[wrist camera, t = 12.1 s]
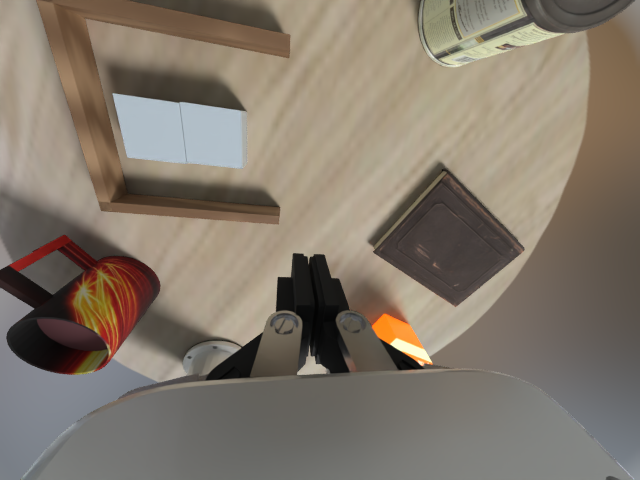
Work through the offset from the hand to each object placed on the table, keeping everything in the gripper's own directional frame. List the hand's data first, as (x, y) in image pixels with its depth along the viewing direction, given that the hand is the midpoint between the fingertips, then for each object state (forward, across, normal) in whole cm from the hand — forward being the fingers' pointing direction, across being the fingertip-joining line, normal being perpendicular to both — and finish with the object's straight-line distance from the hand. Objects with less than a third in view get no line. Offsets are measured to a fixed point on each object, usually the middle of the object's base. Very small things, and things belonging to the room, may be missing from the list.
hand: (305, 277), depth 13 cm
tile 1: (+23, +9, -5) cm, 25 cm away
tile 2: (+23, +15, -5) cm, 28 cm away
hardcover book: (+23, -28, +8) cm, 37 cm away
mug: (+24, +27, +17) cm, 39 cm away
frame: (+22, +12, -5) cm, 26 cm away
